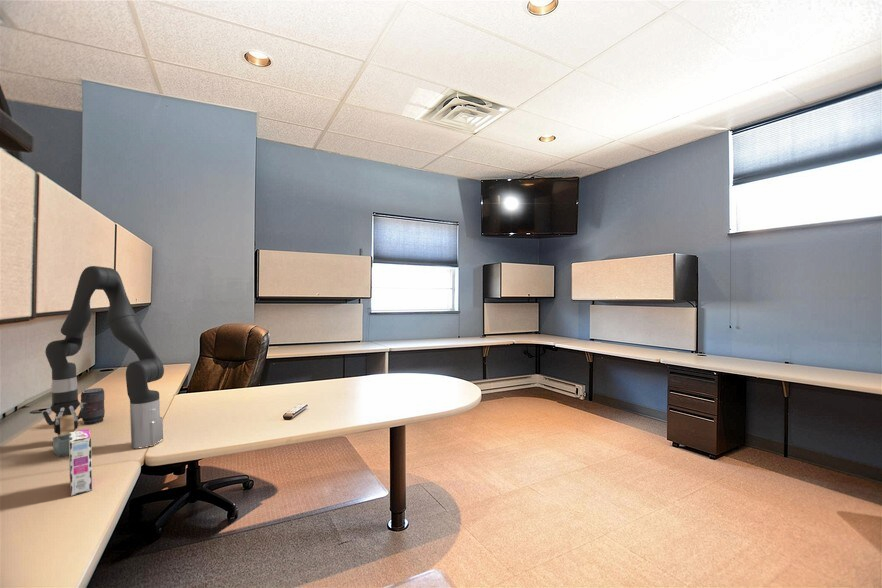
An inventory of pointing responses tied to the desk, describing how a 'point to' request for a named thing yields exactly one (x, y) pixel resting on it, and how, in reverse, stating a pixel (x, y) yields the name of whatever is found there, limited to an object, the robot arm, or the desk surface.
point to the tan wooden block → (66, 424)
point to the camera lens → (93, 405)
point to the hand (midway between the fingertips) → (66, 431)
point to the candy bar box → (80, 462)
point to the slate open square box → (61, 445)
